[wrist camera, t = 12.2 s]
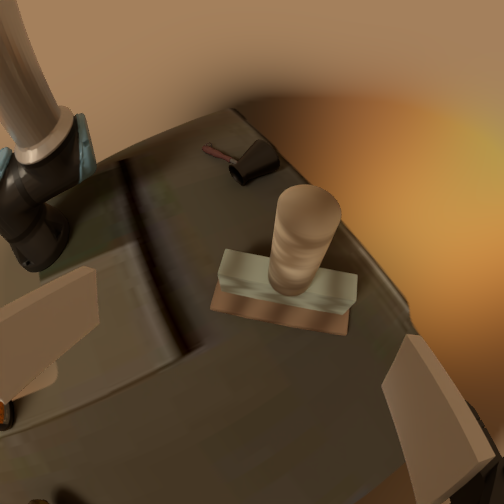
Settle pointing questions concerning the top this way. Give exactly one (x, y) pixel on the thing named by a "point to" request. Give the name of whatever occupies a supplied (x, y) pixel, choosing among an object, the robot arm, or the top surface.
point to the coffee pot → (250, 161)
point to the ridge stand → (280, 306)
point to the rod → (301, 237)
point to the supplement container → (6, 415)
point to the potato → (38, 502)
